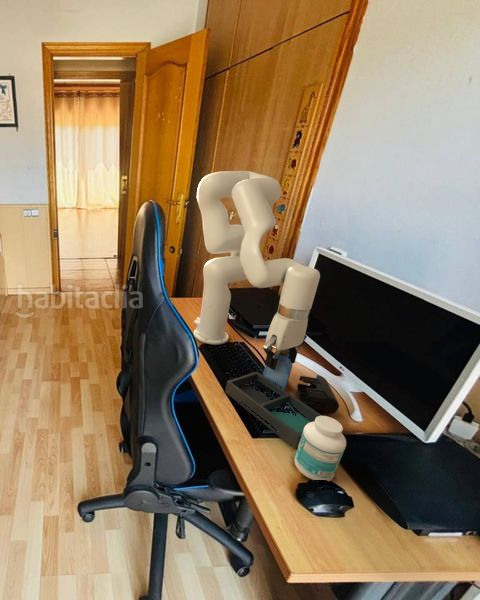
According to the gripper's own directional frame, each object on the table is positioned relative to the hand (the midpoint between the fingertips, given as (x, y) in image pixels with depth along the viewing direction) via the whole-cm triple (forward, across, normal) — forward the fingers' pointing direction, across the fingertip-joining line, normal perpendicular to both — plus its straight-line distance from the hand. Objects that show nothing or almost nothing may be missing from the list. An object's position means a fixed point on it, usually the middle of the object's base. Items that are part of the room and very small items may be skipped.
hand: (279, 363), depth 98 cm
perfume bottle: (+7, 0, 0) cm, 7 cm away
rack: (+7, +11, +8) cm, 16 cm away
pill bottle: (+7, +18, +25) cm, 32 cm away
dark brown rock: (+7, -2, +11) cm, 13 cm away
